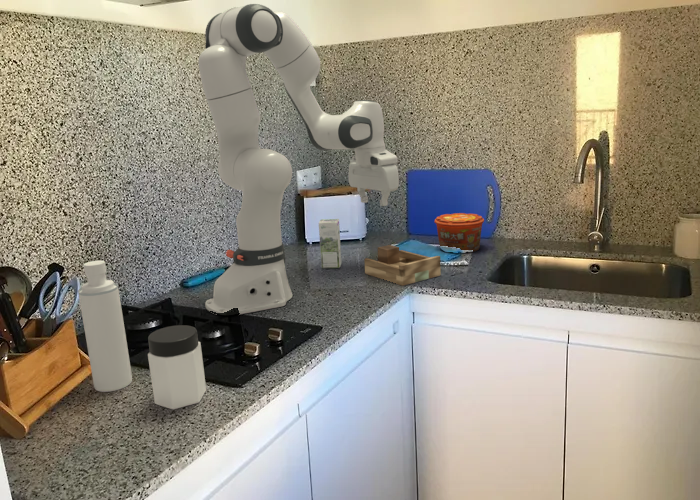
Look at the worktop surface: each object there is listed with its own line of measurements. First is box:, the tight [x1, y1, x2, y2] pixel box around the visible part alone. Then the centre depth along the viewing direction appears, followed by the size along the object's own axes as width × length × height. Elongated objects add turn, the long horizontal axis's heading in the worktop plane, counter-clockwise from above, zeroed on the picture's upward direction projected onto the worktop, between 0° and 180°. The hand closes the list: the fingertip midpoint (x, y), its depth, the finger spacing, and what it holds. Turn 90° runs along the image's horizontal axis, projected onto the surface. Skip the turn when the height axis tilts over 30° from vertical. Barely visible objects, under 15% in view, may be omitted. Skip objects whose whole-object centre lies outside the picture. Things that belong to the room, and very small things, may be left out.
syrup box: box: [318, 218, 342, 269], centre depth 184 cm, size 6×6×14 cm
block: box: [377, 244, 400, 265], centre depth 176 cm, size 4×4×4 cm
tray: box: [363, 249, 442, 286], centre depth 172 cm, size 14×17×6 cm
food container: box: [433, 212, 485, 253], centre depth 197 cm, size 16×16×11 cm
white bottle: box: [77, 259, 133, 393], centre depth 109 cm, size 7×7×25 cm
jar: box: [147, 324, 207, 411], centre depth 104 cm, size 9×8×12 cm
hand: (374, 204), depth 178 cm, fingers open, 8 cm apart
